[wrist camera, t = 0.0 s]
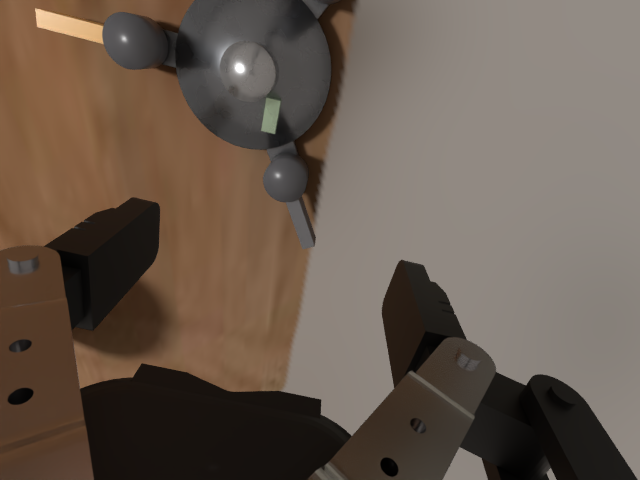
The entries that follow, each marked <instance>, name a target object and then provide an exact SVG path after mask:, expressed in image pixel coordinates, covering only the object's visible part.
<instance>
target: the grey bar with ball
mask: <svg viewBox="0 0 640 480" xmlns="http://www.w3.org/2000/svg"><path fill="white" fill-rule="evenodd" d="M317 1H318V2H320V3H323V4H334V3H337V2H339V1H341V0H317Z"/></svg>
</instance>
